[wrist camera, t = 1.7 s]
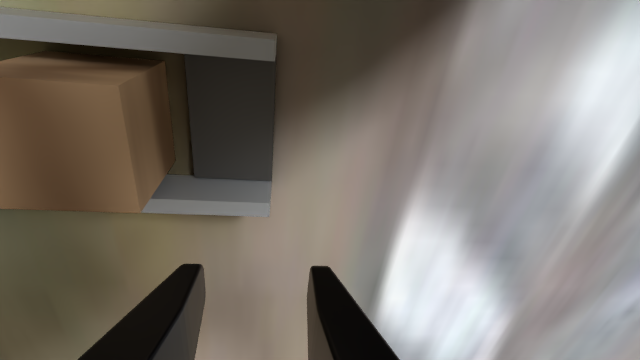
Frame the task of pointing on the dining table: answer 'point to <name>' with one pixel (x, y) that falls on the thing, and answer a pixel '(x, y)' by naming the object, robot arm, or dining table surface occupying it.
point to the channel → (193, 102)
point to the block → (83, 132)
